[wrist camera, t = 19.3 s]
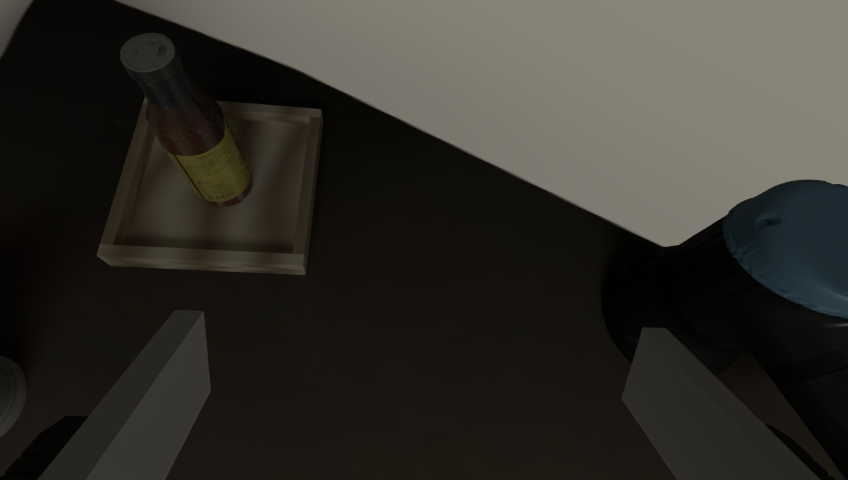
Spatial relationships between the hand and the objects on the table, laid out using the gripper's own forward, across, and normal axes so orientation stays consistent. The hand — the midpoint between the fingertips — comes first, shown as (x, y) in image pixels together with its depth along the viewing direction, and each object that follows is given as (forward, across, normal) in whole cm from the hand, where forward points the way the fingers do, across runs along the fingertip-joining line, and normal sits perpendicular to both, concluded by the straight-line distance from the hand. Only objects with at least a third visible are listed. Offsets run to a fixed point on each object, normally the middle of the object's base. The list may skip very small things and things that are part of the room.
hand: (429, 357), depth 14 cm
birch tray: (+43, -19, -8) cm, 47 cm away
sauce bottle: (+42, -19, -7) cm, 47 cm away
